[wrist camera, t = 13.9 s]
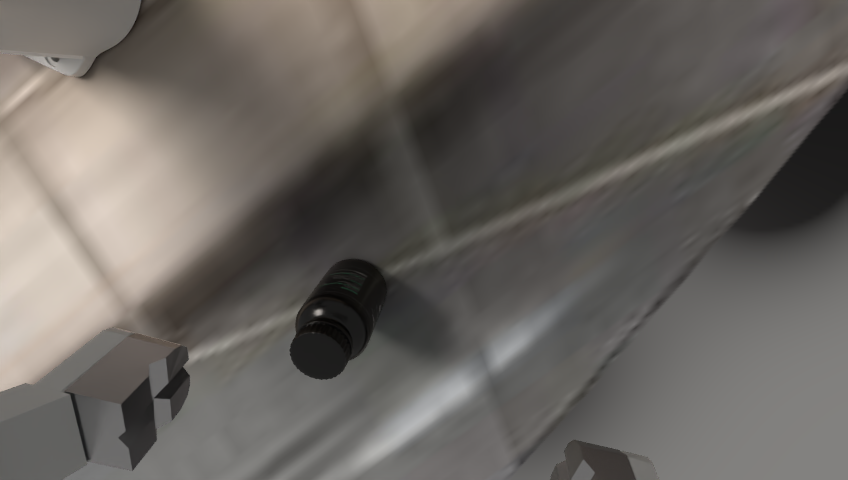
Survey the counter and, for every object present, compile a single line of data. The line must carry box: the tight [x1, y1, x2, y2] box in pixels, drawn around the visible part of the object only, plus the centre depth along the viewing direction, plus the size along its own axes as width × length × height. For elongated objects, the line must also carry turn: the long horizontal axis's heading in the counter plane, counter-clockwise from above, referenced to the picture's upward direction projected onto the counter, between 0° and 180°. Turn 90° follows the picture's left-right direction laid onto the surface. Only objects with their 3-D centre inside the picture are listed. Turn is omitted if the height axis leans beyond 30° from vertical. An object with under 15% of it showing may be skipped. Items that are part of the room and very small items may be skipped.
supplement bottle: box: [290, 259, 387, 380], centre depth 39 cm, size 7×7×12 cm
